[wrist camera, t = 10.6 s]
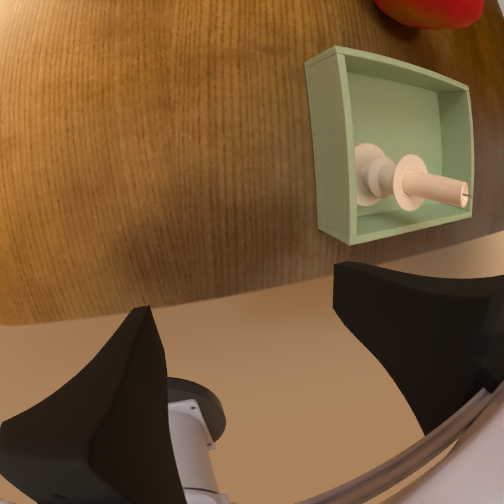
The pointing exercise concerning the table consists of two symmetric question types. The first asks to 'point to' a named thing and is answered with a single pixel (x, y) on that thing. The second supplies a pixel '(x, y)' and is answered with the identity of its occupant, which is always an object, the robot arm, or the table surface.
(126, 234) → the table surface
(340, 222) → the open box
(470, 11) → the apple
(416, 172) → the candle
